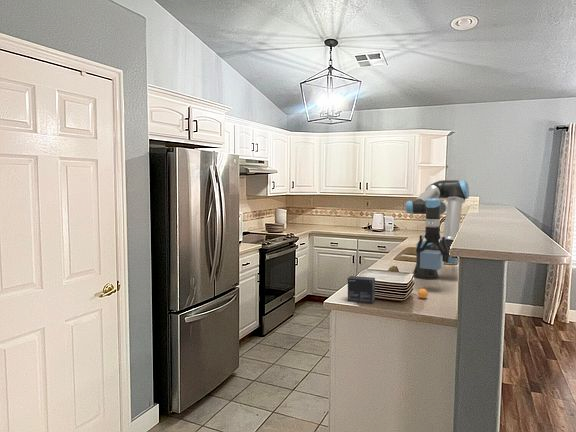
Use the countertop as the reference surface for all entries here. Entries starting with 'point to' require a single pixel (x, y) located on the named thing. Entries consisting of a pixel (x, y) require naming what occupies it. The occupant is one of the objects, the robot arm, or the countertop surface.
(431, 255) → the grey-blue square block
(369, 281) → the small box
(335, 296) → the countertop surface
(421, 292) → the ball
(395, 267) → the rock
